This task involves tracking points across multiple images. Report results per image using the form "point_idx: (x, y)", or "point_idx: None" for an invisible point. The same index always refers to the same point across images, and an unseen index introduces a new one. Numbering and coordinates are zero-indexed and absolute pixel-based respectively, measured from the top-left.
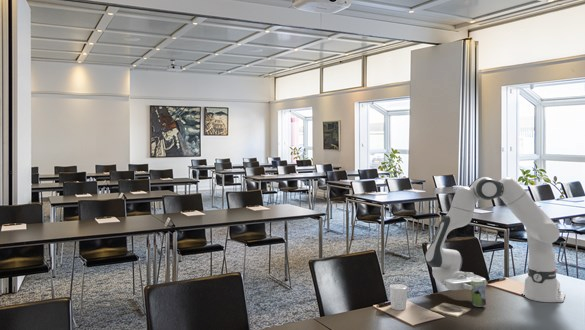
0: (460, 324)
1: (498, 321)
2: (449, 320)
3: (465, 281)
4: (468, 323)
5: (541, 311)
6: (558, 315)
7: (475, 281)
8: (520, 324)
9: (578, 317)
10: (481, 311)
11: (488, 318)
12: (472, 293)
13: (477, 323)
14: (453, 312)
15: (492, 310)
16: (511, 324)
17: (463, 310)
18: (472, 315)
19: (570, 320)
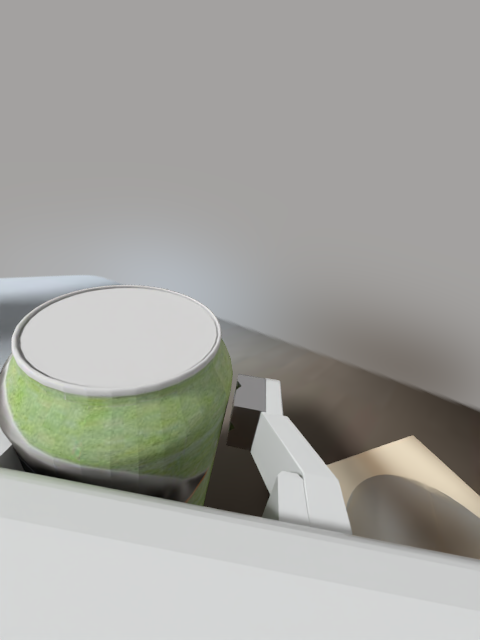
0: (412, 386)
1: (256, 346)
2: (460, 430)
3: (243, 543)
4: (376, 379)
5: (5, 321)
6: (33, 296)
7: (193, 325)
8: (216, 317)
9: (21, 278)
10: (223, 436)
11: (268, 371)
12: (211, 468)
13: (341, 366)
14: (431, 488)
15: None
16: (239, 325)
17: (344, 482)
18: (315, 421)
19: (71, 282)
